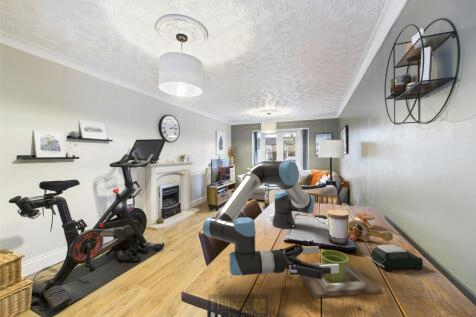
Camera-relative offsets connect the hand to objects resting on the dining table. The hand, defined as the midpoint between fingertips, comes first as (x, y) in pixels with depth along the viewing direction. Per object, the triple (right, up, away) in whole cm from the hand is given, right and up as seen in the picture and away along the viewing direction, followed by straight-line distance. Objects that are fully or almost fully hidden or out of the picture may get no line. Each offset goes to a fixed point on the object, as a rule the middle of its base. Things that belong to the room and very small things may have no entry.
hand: (327, 258), depth 73 cm
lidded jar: (+50, -8, +55) cm, 75 cm away
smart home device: (+30, -9, +70) cm, 76 cm away
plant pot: (+3, -8, 0) cm, 8 cm away
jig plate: (+3, -9, +1) cm, 9 cm away
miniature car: (+34, -9, +10) cm, 36 cm away
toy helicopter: (+37, -8, +33) cm, 50 cm away
